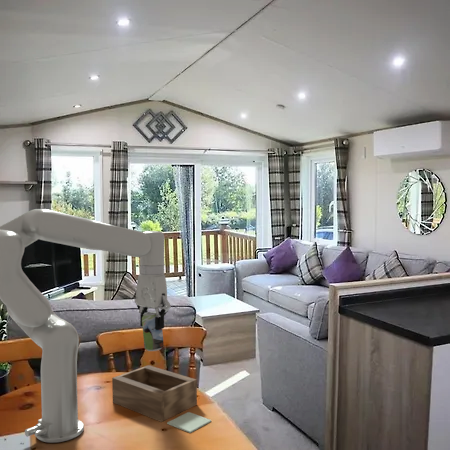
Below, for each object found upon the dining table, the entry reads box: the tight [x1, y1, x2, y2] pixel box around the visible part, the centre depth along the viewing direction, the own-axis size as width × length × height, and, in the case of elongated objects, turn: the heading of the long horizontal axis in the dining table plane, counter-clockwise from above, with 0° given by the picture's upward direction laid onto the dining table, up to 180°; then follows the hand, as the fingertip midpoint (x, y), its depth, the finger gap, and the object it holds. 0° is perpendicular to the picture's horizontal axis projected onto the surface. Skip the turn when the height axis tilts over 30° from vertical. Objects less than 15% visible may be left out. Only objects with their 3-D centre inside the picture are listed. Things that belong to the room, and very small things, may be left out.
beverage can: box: [141, 310, 165, 352], centre depth 151 cm, size 6×7×12 cm
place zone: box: [166, 411, 212, 434], centre depth 139 cm, size 9×9×1 cm
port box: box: [111, 364, 198, 423], centre depth 152 cm, size 15×22×8 cm
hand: (152, 326), depth 151 cm, fingers closed on beverage can, 6 cm apart
